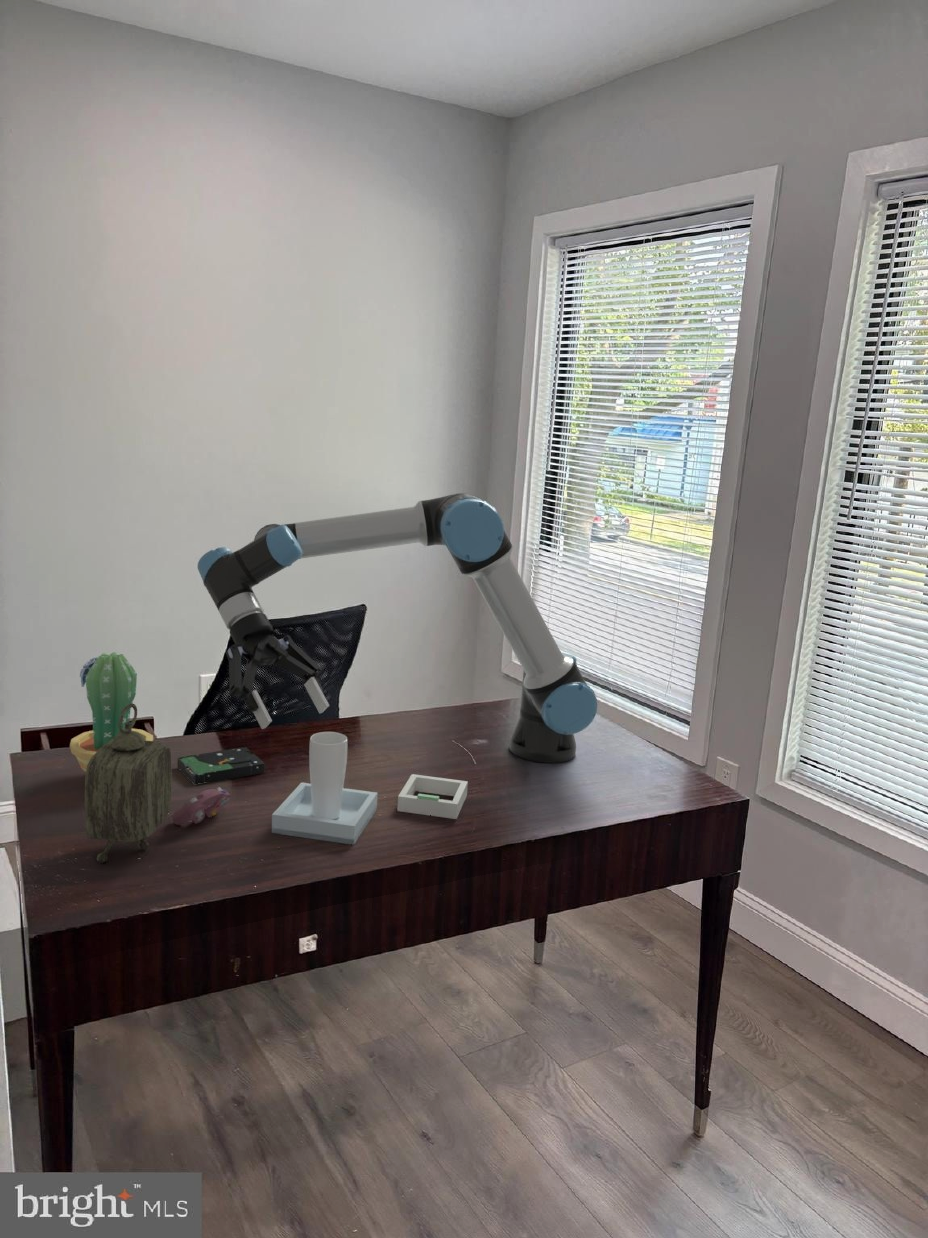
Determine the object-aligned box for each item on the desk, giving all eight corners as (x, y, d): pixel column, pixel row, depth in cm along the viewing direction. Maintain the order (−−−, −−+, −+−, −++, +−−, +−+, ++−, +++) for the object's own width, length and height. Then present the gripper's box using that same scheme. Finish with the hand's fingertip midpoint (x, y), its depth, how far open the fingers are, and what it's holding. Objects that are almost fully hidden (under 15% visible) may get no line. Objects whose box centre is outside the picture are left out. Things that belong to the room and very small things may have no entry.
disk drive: (245, 758, 197) (176, 769, 188) (245, 746, 196) (176, 756, 187) (265, 775, 189) (194, 788, 180) (265, 762, 188) (194, 774, 179)
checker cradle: (466, 795, 184) (468, 778, 183) (456, 819, 173) (457, 801, 172) (411, 788, 186) (412, 771, 185) (397, 811, 175) (398, 793, 174)
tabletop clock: (122, 828, 160) (120, 690, 155) (173, 832, 160) (173, 694, 155) (86, 868, 146) (82, 718, 141) (142, 872, 146) (141, 722, 141)
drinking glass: (303, 810, 170) (305, 733, 167) (338, 805, 173) (341, 729, 169) (313, 826, 164) (315, 746, 161) (349, 821, 167) (352, 742, 163)
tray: (376, 810, 174) (377, 792, 174) (353, 844, 160) (354, 826, 159) (300, 799, 177) (301, 782, 176) (271, 833, 162) (272, 814, 162)
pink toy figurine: (184, 838, 162) (197, 809, 159) (167, 820, 163) (180, 792, 160) (225, 819, 170) (238, 791, 167) (209, 802, 172) (222, 775, 169)
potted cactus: (143, 759, 191) (141, 642, 185) (164, 787, 178) (163, 662, 173) (62, 771, 182) (59, 649, 177) (79, 801, 170) (75, 670, 164)
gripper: (288, 624, 187) (336, 713, 181) (181, 642, 168) (231, 742, 162) (306, 603, 183) (356, 693, 177) (198, 619, 164) (250, 721, 158)
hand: (296, 717), depth 170 cm, fingers open, 13 cm apart
